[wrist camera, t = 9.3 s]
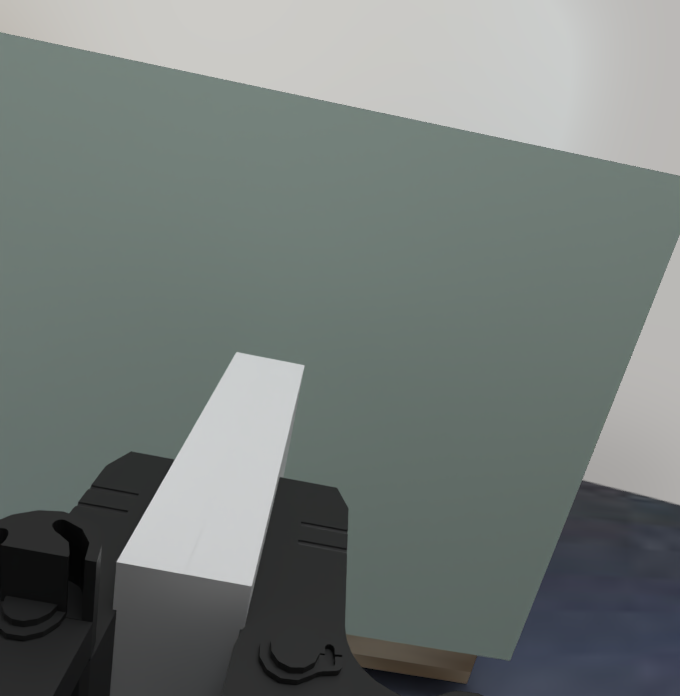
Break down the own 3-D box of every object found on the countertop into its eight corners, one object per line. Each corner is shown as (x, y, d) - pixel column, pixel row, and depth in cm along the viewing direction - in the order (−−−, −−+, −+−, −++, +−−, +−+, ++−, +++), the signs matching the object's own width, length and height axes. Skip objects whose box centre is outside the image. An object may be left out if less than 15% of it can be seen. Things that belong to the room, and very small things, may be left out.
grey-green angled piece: (446, 452, 33) (533, 158, 27) (510, 660, 20) (701, 180, 14) (110, 391, 32) (130, 73, 26) (-54, 569, 19) (-83, 15, 13)
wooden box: (426, 497, 33) (468, 354, 30) (466, 684, 22) (540, 485, 19) (113, 442, 32) (123, 288, 29) (-13, 607, 21) (-18, 385, 18)
